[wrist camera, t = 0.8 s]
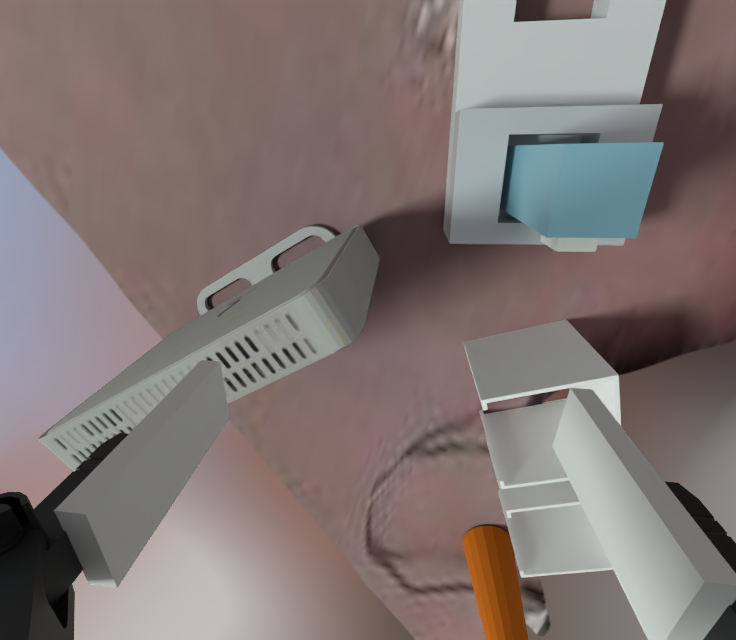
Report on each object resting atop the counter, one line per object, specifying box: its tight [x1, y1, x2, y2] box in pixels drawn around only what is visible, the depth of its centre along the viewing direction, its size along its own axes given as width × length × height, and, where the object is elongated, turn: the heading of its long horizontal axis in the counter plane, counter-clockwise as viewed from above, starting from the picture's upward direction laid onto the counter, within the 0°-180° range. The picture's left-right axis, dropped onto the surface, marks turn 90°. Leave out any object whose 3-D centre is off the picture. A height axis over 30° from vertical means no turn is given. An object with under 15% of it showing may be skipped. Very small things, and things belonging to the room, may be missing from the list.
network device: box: [38, 224, 380, 472], centre depth 32 cm, size 26×9×20 cm, turn 120°
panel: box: [443, 0, 666, 245], centre depth 28 cm, size 24×14×6 cm, turn 1°
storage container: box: [464, 320, 621, 577], centre depth 41 cm, size 25×11×11 cm, turn 17°
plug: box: [500, 142, 664, 252], centre depth 26 cm, size 6×5×12 cm
